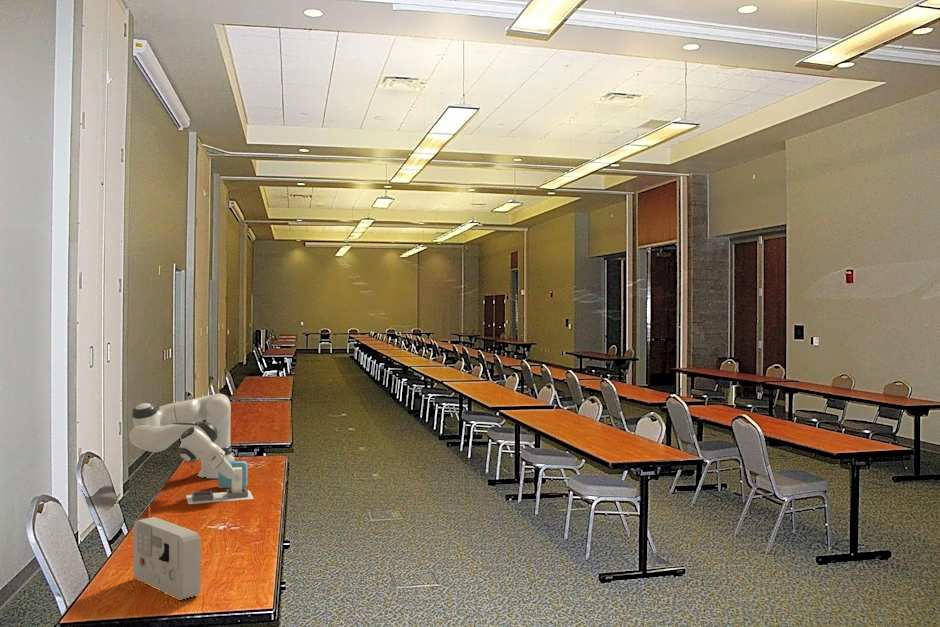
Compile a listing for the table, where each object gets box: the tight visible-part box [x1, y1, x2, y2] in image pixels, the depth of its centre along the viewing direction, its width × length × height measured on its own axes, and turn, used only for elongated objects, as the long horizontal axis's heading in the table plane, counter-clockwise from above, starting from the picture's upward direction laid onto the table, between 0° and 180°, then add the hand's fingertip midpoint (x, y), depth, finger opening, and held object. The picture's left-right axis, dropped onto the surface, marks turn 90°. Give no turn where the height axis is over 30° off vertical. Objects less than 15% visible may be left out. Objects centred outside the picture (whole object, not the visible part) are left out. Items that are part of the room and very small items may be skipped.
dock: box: [186, 487, 255, 505], centre depth 326 cm, size 16×26×3 cm, turn 113°
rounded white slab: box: [132, 516, 202, 601], centre depth 222 cm, size 29×8×18 cm, turn 50°
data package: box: [217, 460, 249, 489], centre depth 345 cm, size 12×4×12 cm, turn 98°
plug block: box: [230, 467, 242, 493], centre depth 328 cm, size 4×4×10 cm
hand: (238, 479), depth 329 cm, fingers closed on plug block, 4 cm apart
